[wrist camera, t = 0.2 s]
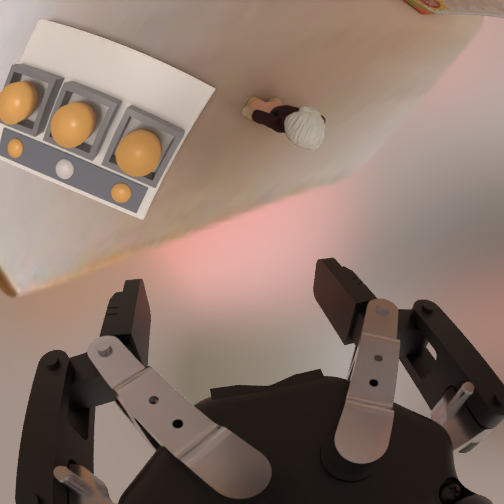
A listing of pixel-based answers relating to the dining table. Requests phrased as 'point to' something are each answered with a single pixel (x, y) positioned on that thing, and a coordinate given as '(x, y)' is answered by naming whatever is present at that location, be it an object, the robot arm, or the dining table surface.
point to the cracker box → (460, 7)
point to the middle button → (73, 124)
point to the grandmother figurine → (288, 120)
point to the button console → (99, 113)
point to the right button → (139, 152)
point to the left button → (18, 101)
